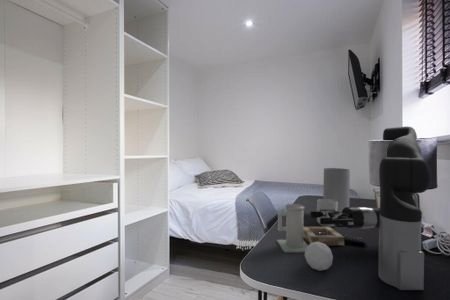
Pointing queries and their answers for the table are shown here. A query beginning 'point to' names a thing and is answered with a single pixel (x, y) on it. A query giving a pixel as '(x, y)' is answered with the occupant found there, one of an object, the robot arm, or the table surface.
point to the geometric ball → (318, 256)
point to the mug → (326, 207)
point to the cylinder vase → (337, 186)
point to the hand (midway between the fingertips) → (315, 217)
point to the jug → (293, 225)
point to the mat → (289, 249)
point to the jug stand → (323, 236)
